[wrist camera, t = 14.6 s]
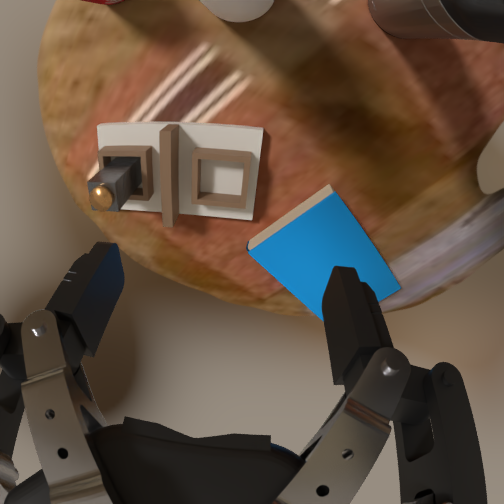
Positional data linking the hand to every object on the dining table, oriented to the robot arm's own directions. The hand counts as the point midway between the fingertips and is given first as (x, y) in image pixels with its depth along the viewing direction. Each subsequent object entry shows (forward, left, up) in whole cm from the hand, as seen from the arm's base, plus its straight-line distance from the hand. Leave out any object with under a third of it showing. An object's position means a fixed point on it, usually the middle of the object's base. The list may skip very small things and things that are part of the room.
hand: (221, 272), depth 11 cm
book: (-16, +23, -33) cm, 44 cm away
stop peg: (+17, +9, -31) cm, 36 cm away
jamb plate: (+10, +9, -32) cm, 35 cm away
